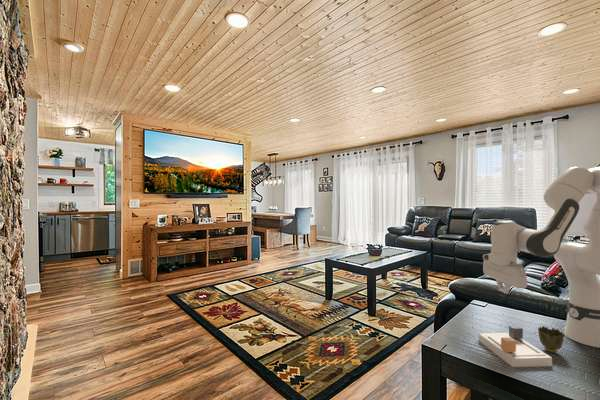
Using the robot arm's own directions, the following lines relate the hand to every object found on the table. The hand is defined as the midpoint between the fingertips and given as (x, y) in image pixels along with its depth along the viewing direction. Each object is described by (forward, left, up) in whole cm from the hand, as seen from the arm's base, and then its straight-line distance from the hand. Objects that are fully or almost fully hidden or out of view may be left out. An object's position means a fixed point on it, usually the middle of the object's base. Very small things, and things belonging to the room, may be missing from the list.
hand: (503, 292), depth 118 cm
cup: (-10, +11, -19) cm, 24 cm away
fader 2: (0, +7, -16) cm, 17 cm away
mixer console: (+5, +11, -19) cm, 23 cm away
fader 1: (+10, +15, -16) cm, 24 cm away
